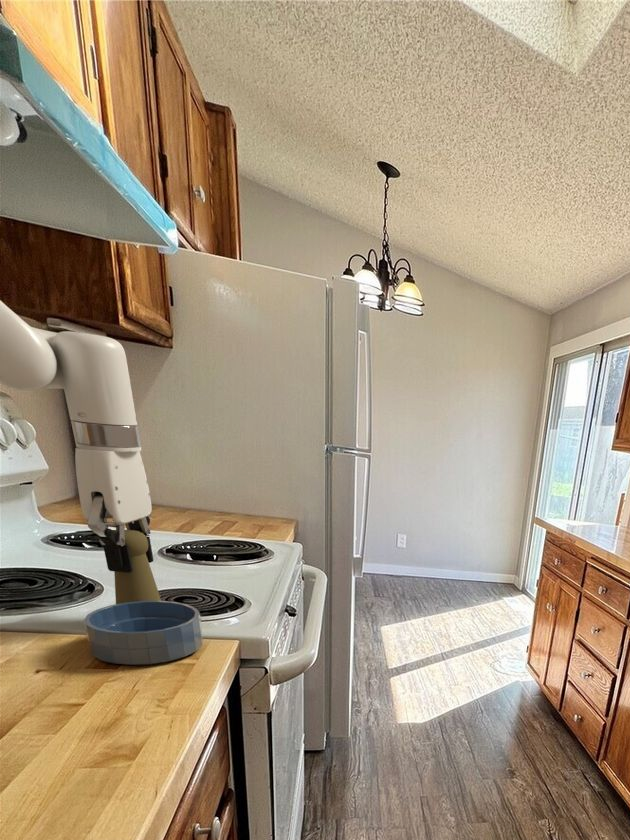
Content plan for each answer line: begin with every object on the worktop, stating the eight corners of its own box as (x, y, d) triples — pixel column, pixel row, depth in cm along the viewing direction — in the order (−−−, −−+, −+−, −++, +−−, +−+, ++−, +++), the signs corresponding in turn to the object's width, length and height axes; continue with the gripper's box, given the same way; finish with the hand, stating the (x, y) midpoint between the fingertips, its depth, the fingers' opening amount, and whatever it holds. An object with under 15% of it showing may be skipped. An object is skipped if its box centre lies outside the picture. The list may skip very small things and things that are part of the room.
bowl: (69, 664, 73) (60, 628, 71) (125, 628, 85) (119, 597, 83) (178, 671, 75) (172, 636, 73) (218, 635, 87) (214, 604, 85)
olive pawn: (119, 610, 83) (104, 536, 78) (112, 598, 87) (97, 527, 82) (165, 605, 87) (153, 534, 82) (156, 594, 91) (144, 526, 86)
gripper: (113, 432, 84) (135, 551, 92) (35, 436, 69) (69, 579, 76) (166, 438, 85) (183, 555, 93) (100, 443, 70) (127, 583, 77)
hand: (131, 565), depth 84 cm, fingers closed on olive pawn, 5 cm apart
